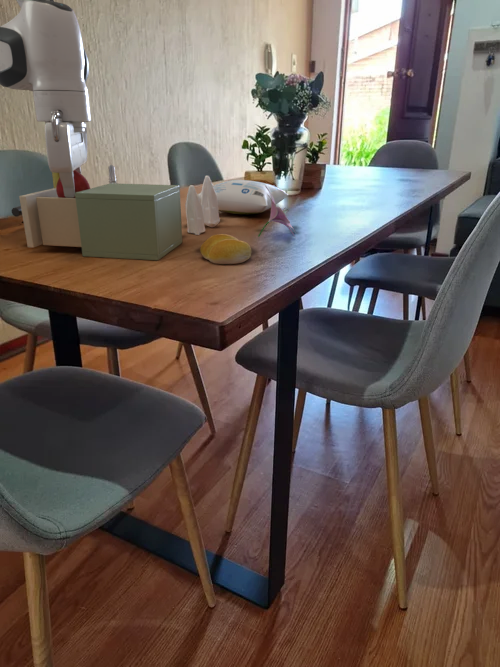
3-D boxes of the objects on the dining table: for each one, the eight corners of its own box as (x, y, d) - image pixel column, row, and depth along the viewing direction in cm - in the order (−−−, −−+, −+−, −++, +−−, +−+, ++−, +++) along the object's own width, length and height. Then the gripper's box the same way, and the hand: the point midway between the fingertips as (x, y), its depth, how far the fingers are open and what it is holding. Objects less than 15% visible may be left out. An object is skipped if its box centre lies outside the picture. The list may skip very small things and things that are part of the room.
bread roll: (219, 268, 82) (218, 243, 80) (194, 256, 89) (193, 233, 87) (261, 261, 86) (262, 237, 85) (235, 250, 93) (234, 228, 92)
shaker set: (208, 223, 117) (207, 173, 112) (224, 225, 115) (224, 174, 111) (181, 233, 106) (178, 178, 102) (198, 235, 105) (196, 179, 101)
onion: (66, 214, 89) (59, 166, 86) (54, 210, 93) (48, 164, 90) (97, 211, 93) (92, 165, 89) (85, 207, 97) (80, 163, 94)
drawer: (5, 246, 91) (-4, 195, 88) (44, 232, 102) (37, 186, 99) (93, 250, 88) (87, 198, 85) (123, 235, 100) (118, 189, 96)
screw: (131, 223, 116) (122, 227, 112) (111, 222, 117) (102, 226, 113) (126, 163, 111) (116, 165, 107) (105, 163, 112) (95, 165, 108)
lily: (280, 251, 97) (306, 205, 95) (231, 221, 100) (254, 177, 98) (295, 256, 108) (318, 216, 106) (250, 230, 111) (271, 190, 109)
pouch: (266, 187, 116) (288, 175, 134) (190, 186, 122) (220, 175, 139) (267, 222, 120) (288, 206, 137) (193, 219, 125) (222, 204, 143)
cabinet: (82, 256, 88) (74, 192, 84) (115, 239, 101) (110, 183, 97) (158, 260, 86) (153, 195, 82) (182, 242, 99) (179, 185, 94)
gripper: (73, 110, 77) (84, 202, 83) (89, 111, 96) (97, 187, 101) (29, 109, 76) (43, 203, 82) (54, 111, 95) (64, 187, 100)
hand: (73, 194), depth 92 cm, fingers closed on onion, 6 cm apart
